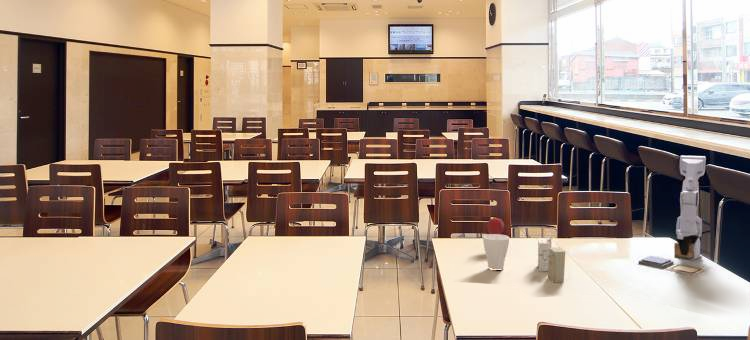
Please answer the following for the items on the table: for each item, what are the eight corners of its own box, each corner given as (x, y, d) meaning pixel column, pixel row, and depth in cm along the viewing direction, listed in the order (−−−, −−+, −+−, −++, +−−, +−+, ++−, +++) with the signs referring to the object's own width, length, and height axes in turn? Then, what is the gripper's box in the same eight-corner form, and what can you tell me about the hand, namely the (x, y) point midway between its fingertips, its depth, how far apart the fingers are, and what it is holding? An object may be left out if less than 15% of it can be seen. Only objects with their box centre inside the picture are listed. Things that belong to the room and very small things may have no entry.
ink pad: (649, 259, 265) (649, 255, 264) (673, 263, 257) (673, 259, 257) (638, 263, 258) (638, 259, 258) (662, 268, 251) (662, 264, 250)
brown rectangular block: (678, 256, 252) (678, 241, 252) (694, 258, 248) (694, 243, 247) (674, 257, 249) (674, 243, 249) (689, 260, 245) (689, 245, 244)
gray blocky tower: (537, 265, 257) (538, 231, 255) (549, 266, 256) (550, 231, 254) (538, 271, 249) (539, 235, 247) (551, 272, 248) (552, 236, 246)
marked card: (677, 264, 256) (677, 263, 256) (705, 269, 248) (705, 268, 248) (665, 269, 249) (665, 268, 249) (694, 275, 241) (694, 274, 241)
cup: (510, 266, 256) (510, 234, 254) (507, 273, 246) (507, 240, 244) (484, 264, 259) (485, 233, 257) (480, 271, 249) (481, 238, 247)
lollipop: (487, 252, 279) (487, 219, 277) (486, 247, 287) (487, 216, 285) (504, 252, 278) (504, 220, 276) (503, 248, 285) (504, 216, 283)
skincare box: (547, 278, 240) (548, 247, 238) (558, 277, 240) (559, 247, 239) (553, 282, 233) (554, 251, 232) (564, 282, 234) (565, 251, 232)
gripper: (685, 216, 254) (683, 248, 255) (670, 221, 244) (668, 255, 246) (703, 219, 248) (701, 252, 250) (688, 224, 239) (686, 258, 241)
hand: (686, 253), depth 248 cm, fingers closed on brown rectangular block, 4 cm apart
